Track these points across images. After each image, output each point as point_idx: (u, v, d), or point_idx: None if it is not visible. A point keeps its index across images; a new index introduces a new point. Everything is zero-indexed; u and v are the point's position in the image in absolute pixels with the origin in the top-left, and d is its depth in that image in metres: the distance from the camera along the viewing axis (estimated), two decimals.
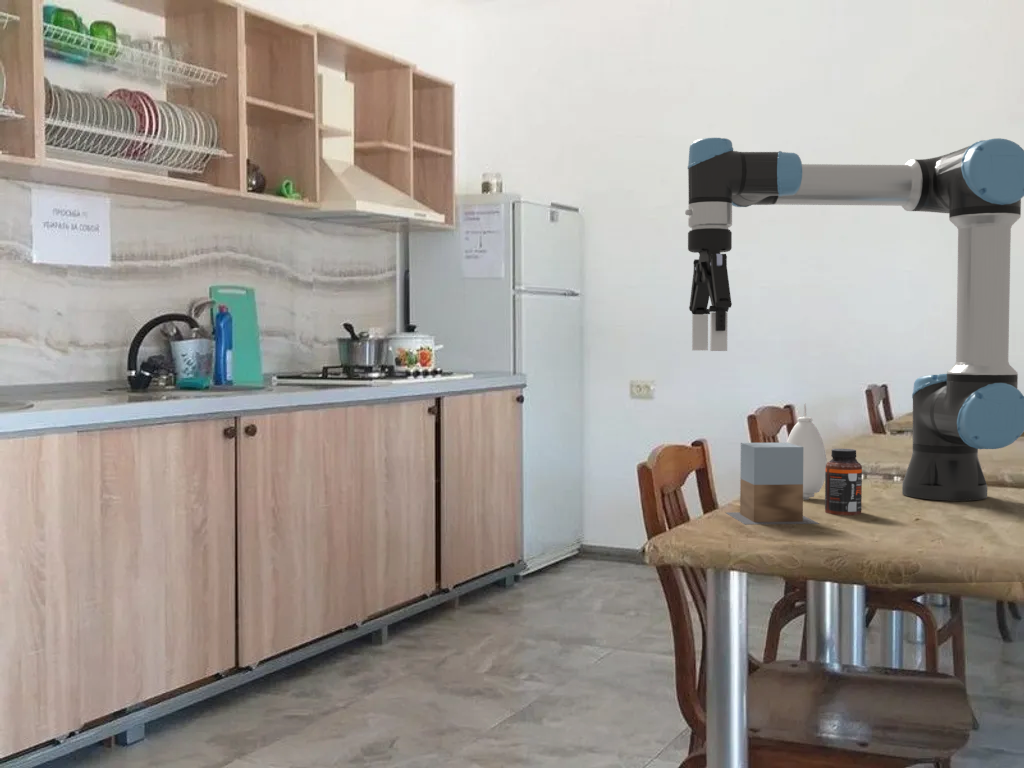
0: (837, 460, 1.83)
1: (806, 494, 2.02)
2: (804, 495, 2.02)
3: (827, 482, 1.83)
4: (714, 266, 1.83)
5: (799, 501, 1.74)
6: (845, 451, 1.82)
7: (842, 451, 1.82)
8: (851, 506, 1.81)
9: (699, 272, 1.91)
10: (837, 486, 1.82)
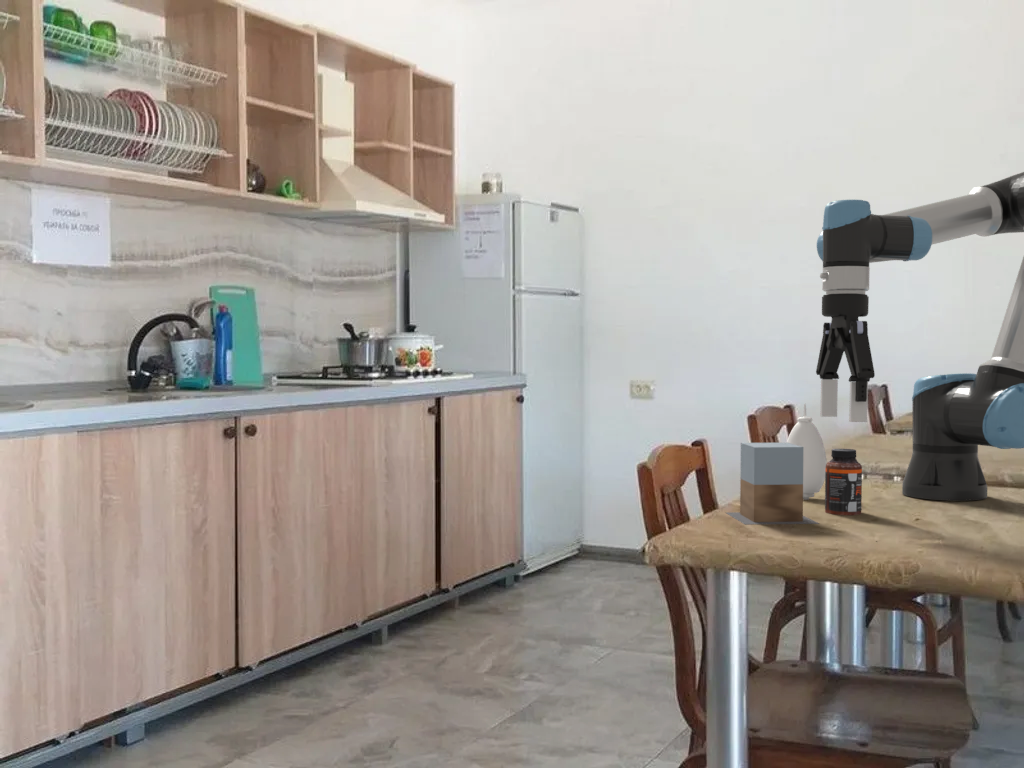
0: (837, 460, 1.83)
1: (806, 494, 2.02)
2: (804, 495, 2.02)
3: (827, 482, 1.83)
4: (854, 334, 1.76)
5: (799, 501, 1.74)
6: (845, 451, 1.82)
7: (842, 451, 1.82)
8: (851, 506, 1.81)
9: (833, 337, 1.84)
10: (837, 486, 1.82)
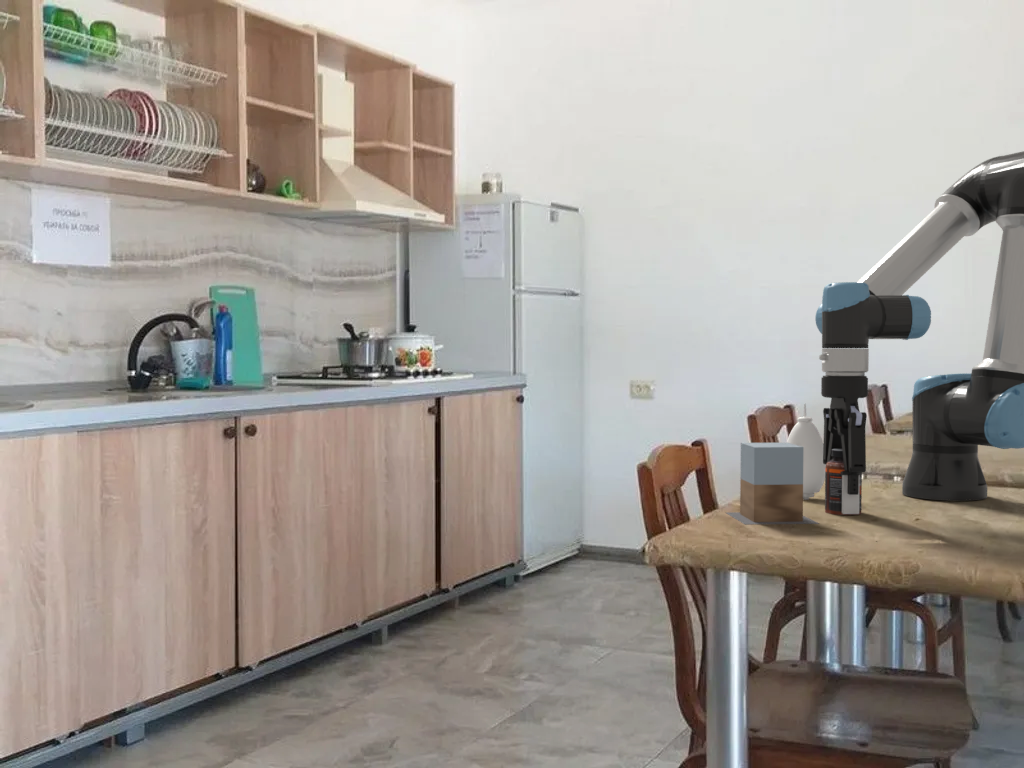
0: (837, 460, 1.82)
1: (806, 494, 2.02)
2: (804, 495, 2.02)
3: (827, 482, 1.83)
4: (852, 426, 1.77)
5: (799, 501, 1.74)
6: None
7: (842, 451, 1.82)
8: None
9: (833, 417, 1.84)
10: (837, 486, 1.82)
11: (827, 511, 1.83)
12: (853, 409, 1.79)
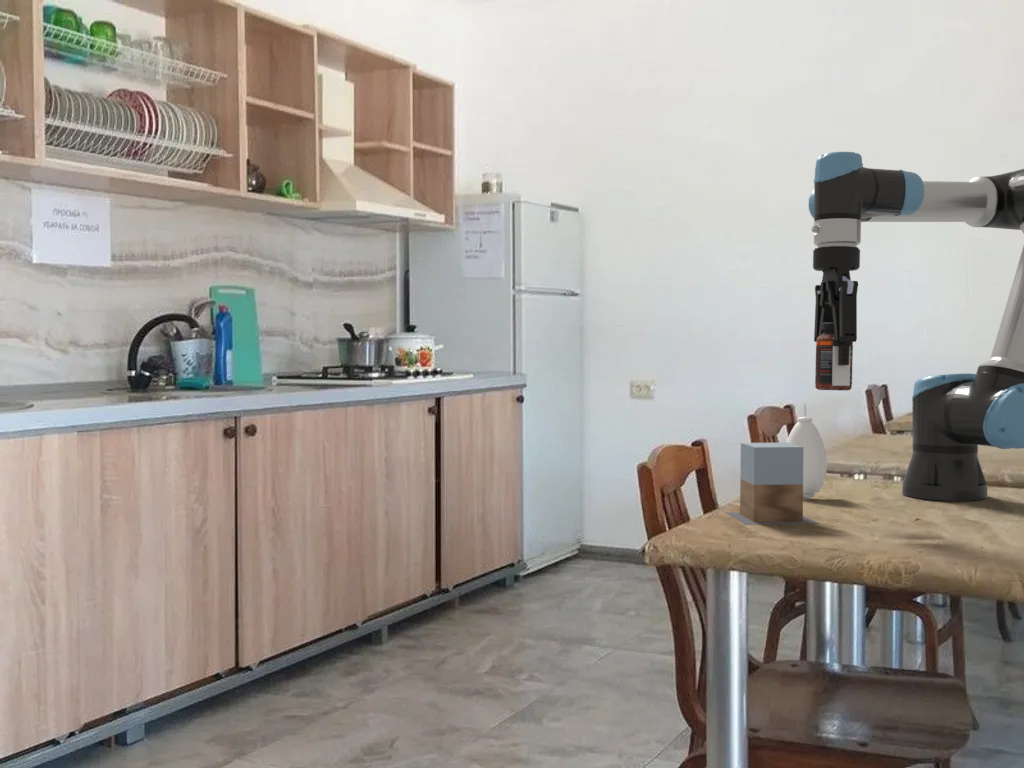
0: (827, 332, 1.81)
1: (806, 494, 2.02)
2: (804, 495, 2.02)
3: (817, 356, 1.82)
4: (843, 295, 1.76)
5: (799, 501, 1.74)
6: None
7: (833, 323, 1.80)
8: None
9: (825, 291, 1.83)
10: (827, 359, 1.80)
11: (817, 385, 1.82)
12: (844, 279, 1.77)
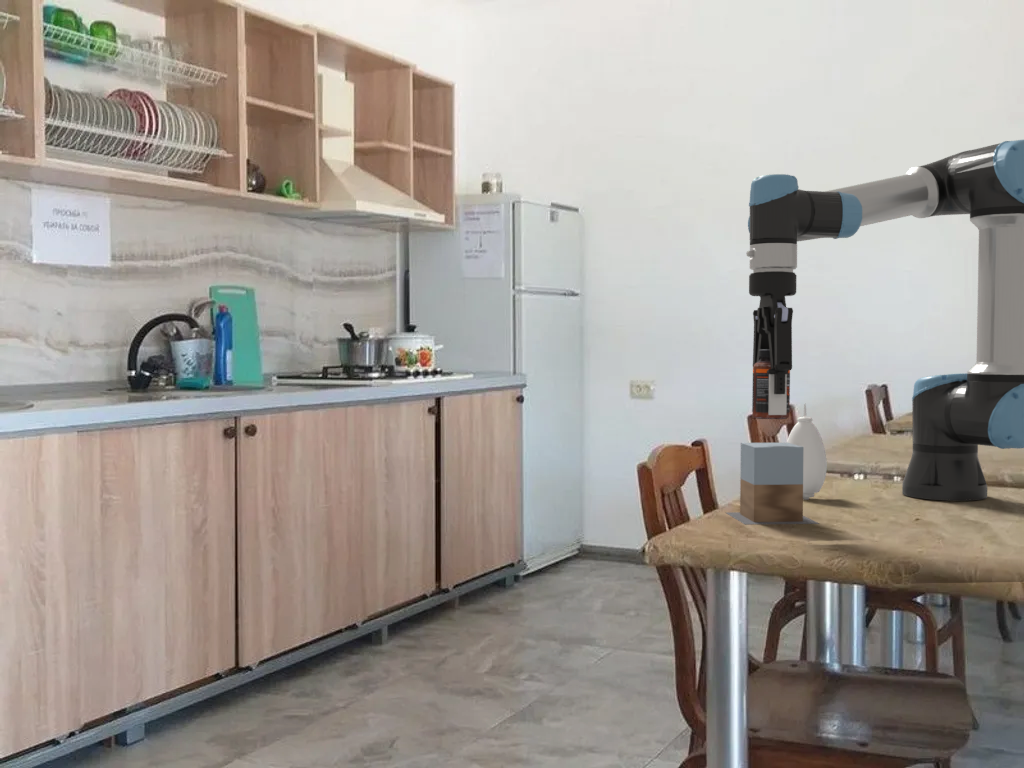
0: (764, 360, 1.76)
1: (806, 494, 2.02)
2: (804, 495, 2.02)
3: (754, 384, 1.77)
4: (778, 322, 1.71)
5: (799, 501, 1.74)
6: None
7: (769, 350, 1.75)
8: None
9: (761, 317, 1.78)
10: (763, 387, 1.75)
11: (754, 413, 1.77)
12: (780, 305, 1.73)
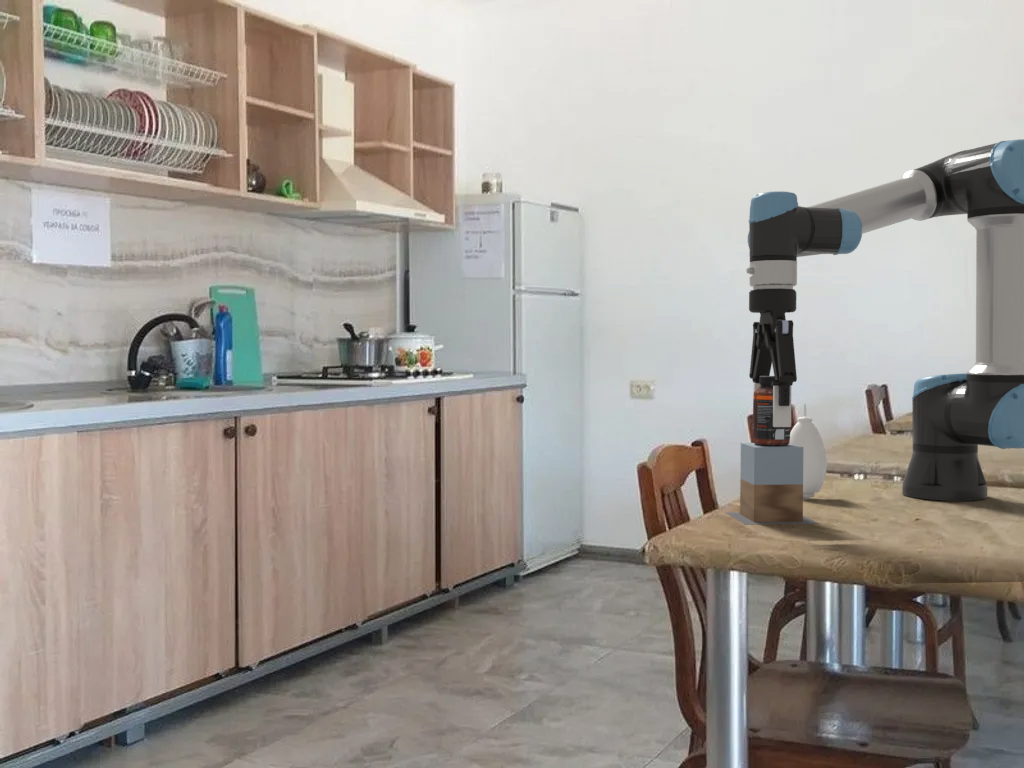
0: (764, 386, 1.76)
1: (806, 494, 2.02)
2: (804, 495, 2.02)
3: (754, 410, 1.77)
4: (779, 334, 1.70)
5: (799, 501, 1.74)
6: (773, 377, 1.76)
7: (769, 377, 1.76)
8: (778, 433, 1.75)
9: (761, 334, 1.78)
10: (764, 413, 1.75)
11: (754, 440, 1.77)
12: None
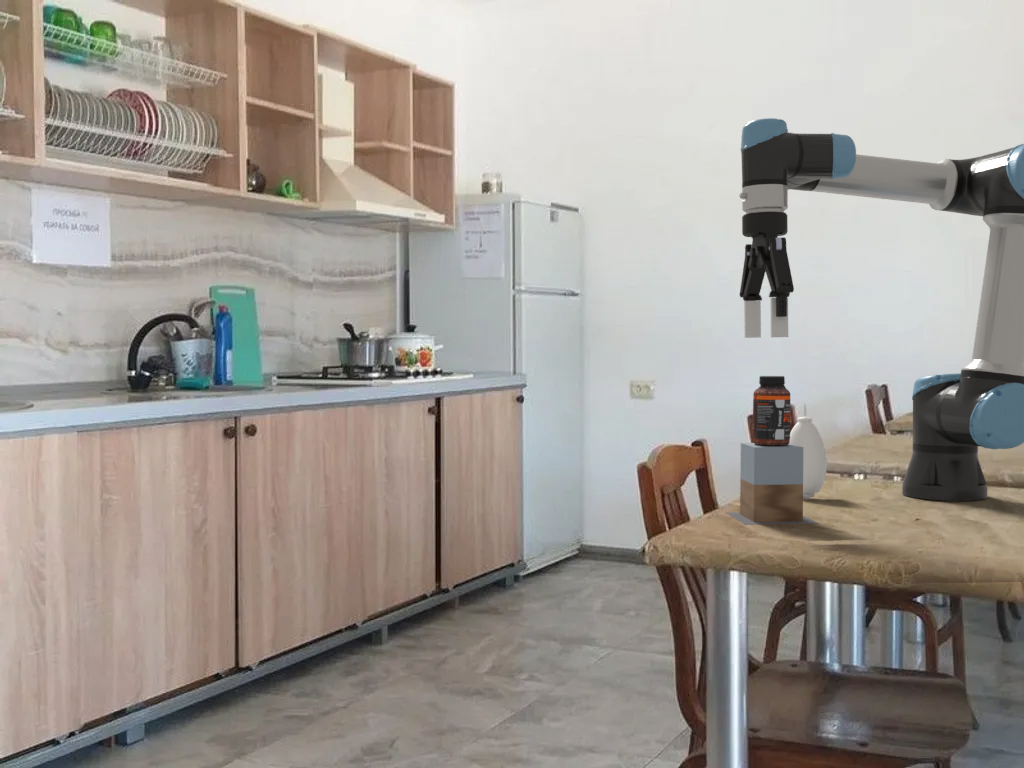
0: (764, 386, 1.76)
1: (806, 494, 2.02)
2: (804, 495, 2.02)
3: (754, 410, 1.77)
4: (773, 250, 1.78)
5: (799, 501, 1.74)
6: (772, 377, 1.76)
7: (769, 377, 1.76)
8: (778, 433, 1.75)
9: (754, 257, 1.86)
10: (764, 413, 1.75)
11: (754, 440, 1.77)
12: None
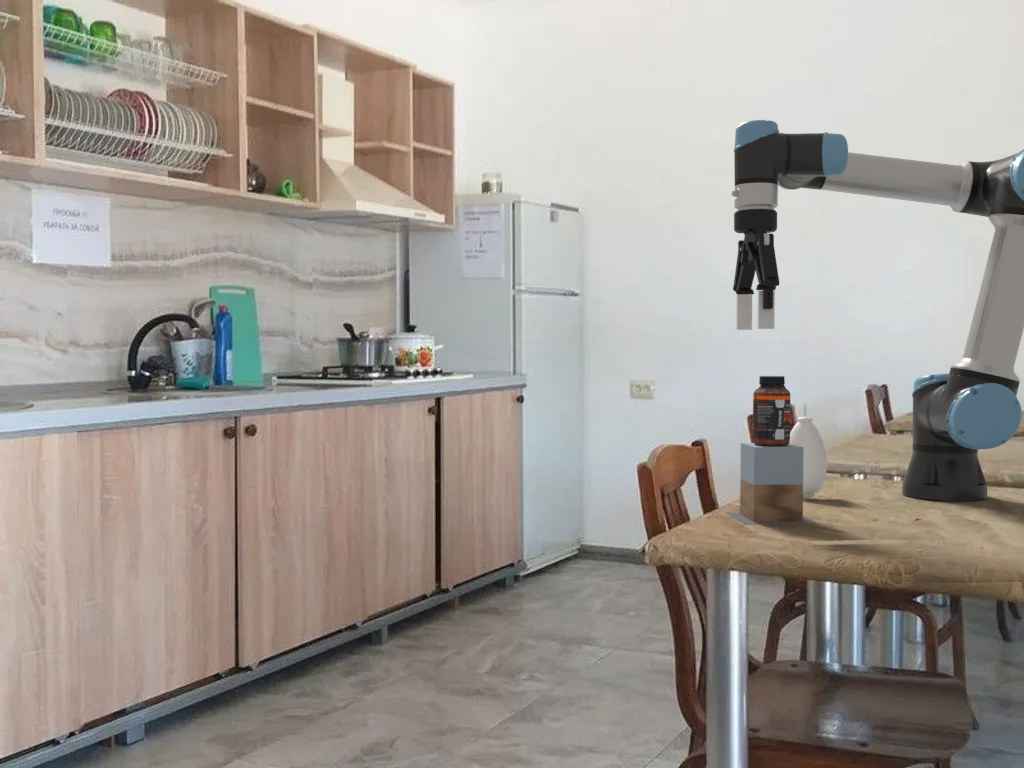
0: (764, 386, 1.76)
1: (806, 494, 2.02)
2: (804, 495, 2.02)
3: (754, 410, 1.77)
4: (761, 245, 1.87)
5: (799, 501, 1.74)
6: (772, 377, 1.76)
7: (769, 377, 1.76)
8: (778, 433, 1.75)
9: (745, 252, 1.95)
10: (764, 413, 1.75)
11: (754, 440, 1.77)
12: None
